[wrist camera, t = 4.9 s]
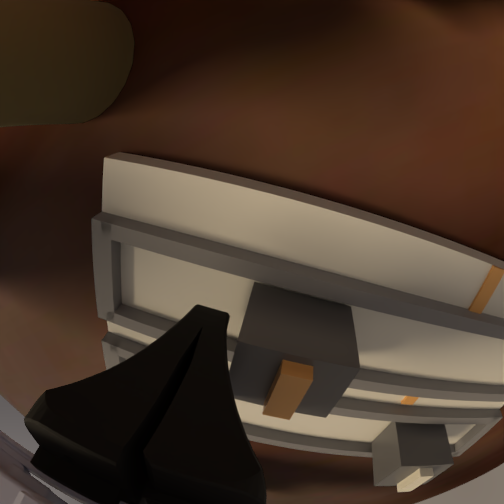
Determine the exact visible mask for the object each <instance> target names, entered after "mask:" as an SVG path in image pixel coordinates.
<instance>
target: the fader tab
mask: <svg viewBox="0 0 504 504" xmlns="http://www.w3.org/2000/svg"><path fill="white" fill-rule="evenodd" d="M359 370H360V362H359V355H358V347H357V341H356V334H355V328H354V321H353V315H352V309H351V306H347V305H343V304H339V303H335V302H331V301H327V300H323V299H319V298H315V297H311V296H307V295H303V294H299V293H295V292H291V291H288V290H284V289H280V288H276V287H272V286H269V285H265V284H261V283H257V282H254V284H253V288H252V291H251V295H250V298H249V302H248V305H247V309H246V312H245V316H244V319H243V323H242V326H241V330H240V333H239V336H238V340H237V344H236V347H235V351H234V355H233V359H232V363H231V366H230V370H229V374H230V380H231V385H232V390H233V394H234V399H237V400H241V401H245V402H249V403H253V404H258V405H262V406H263V412H262V414H263V415H267V416H272V417H277V418H282V419H287V420H290V419H291V417H292V415H293V414H294V412H295V413H300V414H306V415H312V416H318V417H324V418H326V417H327V416H328V415H329V413H330V412H331V411H332V409H333V408H334V406H335V405H336V404H337V402H338V401H339V399H340V398H341V397H342V395H343V394H344V392H345V391H346V389H347V388H348V387H349V385H350V384H351V382H352V381H353V379H354V378H355V376H356V375H357V373H358V372H359Z"/></svg>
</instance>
